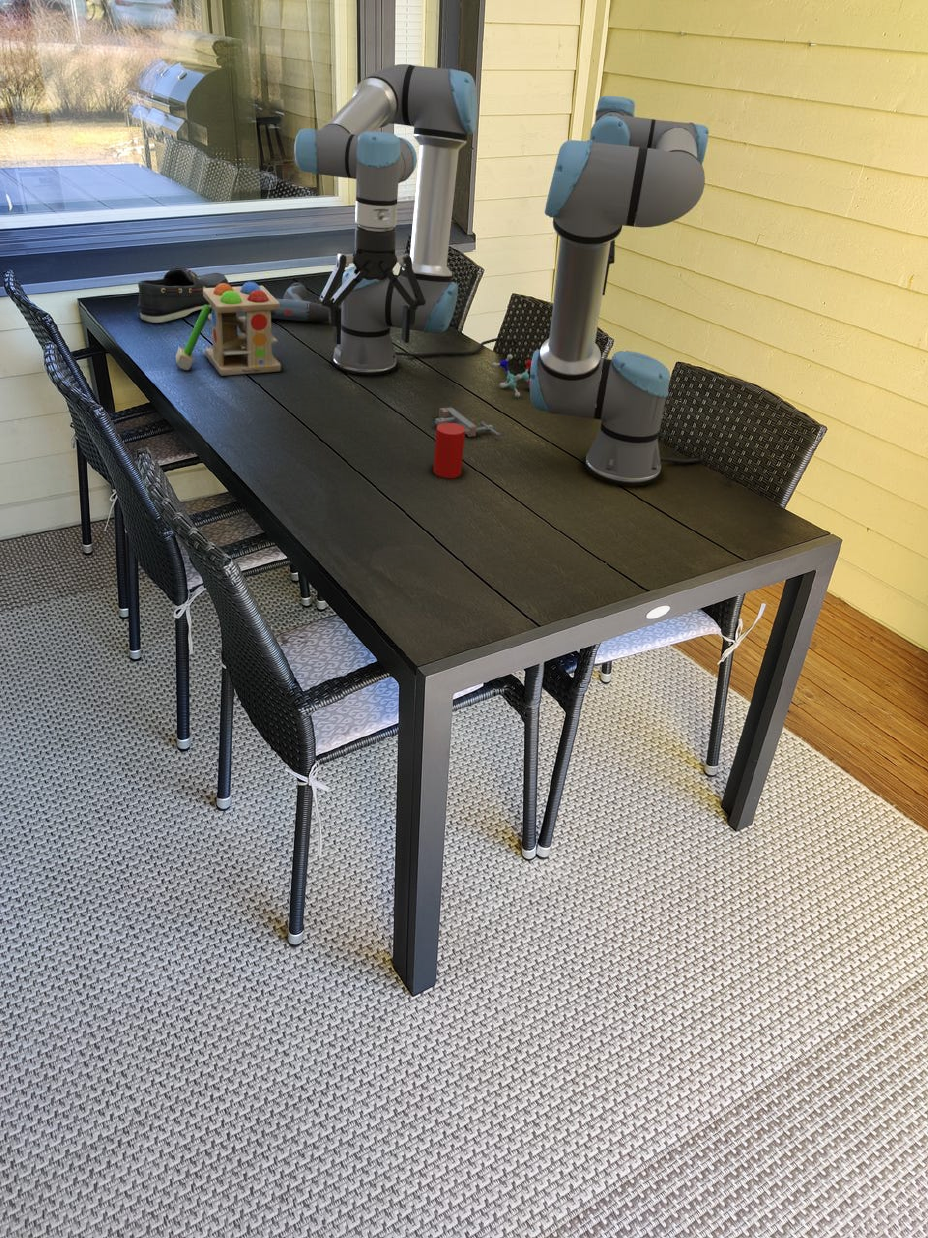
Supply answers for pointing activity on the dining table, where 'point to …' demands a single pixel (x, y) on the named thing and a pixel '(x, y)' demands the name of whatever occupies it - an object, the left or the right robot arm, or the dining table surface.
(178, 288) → the boat shoe
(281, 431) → the dining table surface
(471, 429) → the clamp
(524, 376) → the molecular model
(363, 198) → the left robot arm
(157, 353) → the dining table surface
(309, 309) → the power drill
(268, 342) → the pounding bench toy
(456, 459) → the tin
